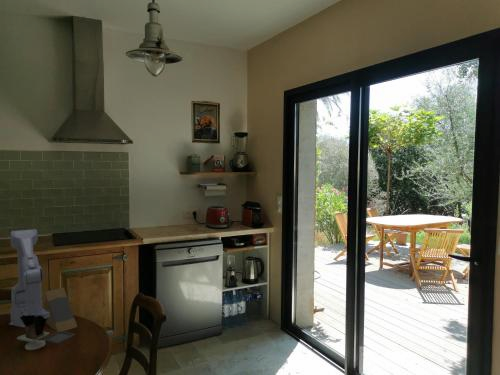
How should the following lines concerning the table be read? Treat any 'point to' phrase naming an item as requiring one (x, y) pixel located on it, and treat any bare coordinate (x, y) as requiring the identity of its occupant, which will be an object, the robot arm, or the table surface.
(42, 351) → the table surface
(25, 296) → the robot arm
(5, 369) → the table surface
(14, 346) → the table surface
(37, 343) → the coaster
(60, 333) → the grey square tile
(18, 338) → the pale green square tile
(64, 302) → the sandwich container
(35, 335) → the walnut cube
